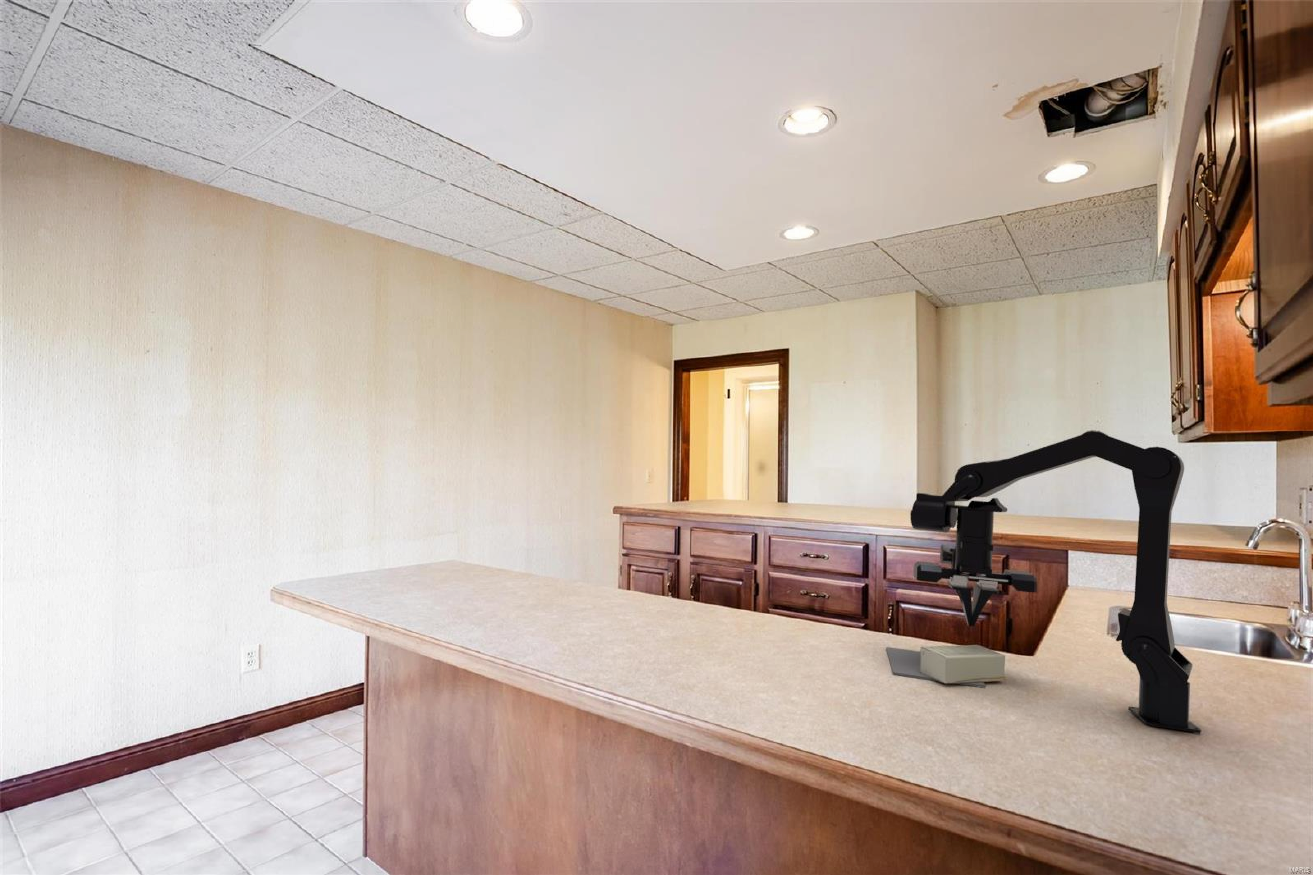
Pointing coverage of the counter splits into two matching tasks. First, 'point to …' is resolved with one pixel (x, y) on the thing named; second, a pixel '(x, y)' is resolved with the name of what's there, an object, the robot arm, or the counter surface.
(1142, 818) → the counter surface
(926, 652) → the skincare box
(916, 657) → the mat
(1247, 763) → the counter surface
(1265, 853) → the counter surface
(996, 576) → the robot arm
